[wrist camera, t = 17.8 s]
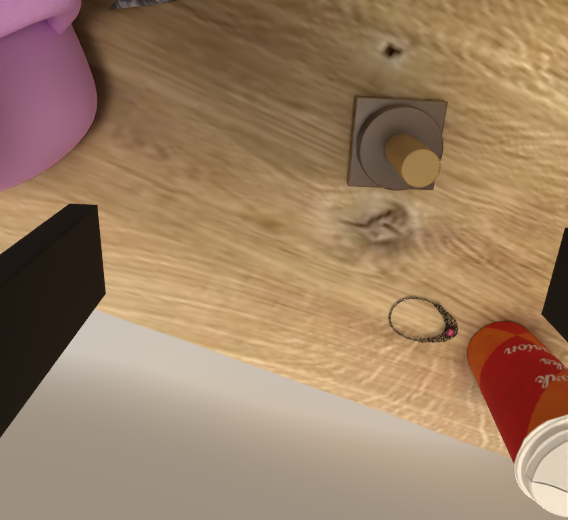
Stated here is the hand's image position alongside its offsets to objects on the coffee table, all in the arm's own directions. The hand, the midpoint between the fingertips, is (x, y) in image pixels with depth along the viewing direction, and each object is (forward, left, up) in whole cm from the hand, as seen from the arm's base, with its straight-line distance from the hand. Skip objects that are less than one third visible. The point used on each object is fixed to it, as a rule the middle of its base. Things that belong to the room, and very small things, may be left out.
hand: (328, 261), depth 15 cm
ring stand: (+1, +7, -27) cm, 28 cm away
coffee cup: (+19, +19, -27) cm, 38 cm away
